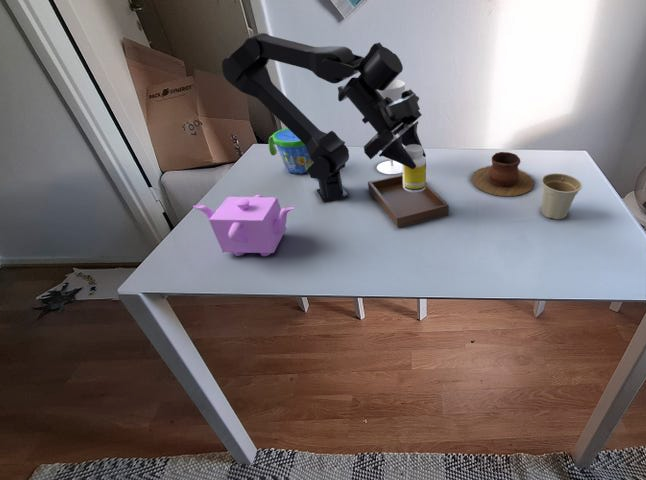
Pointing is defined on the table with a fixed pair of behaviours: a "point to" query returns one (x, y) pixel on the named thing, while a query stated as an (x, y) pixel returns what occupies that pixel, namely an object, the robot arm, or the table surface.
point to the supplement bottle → (415, 170)
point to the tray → (407, 201)
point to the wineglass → (395, 94)
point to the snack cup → (290, 151)
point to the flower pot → (558, 194)
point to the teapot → (248, 224)
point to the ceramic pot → (503, 176)
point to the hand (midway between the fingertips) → (419, 162)
